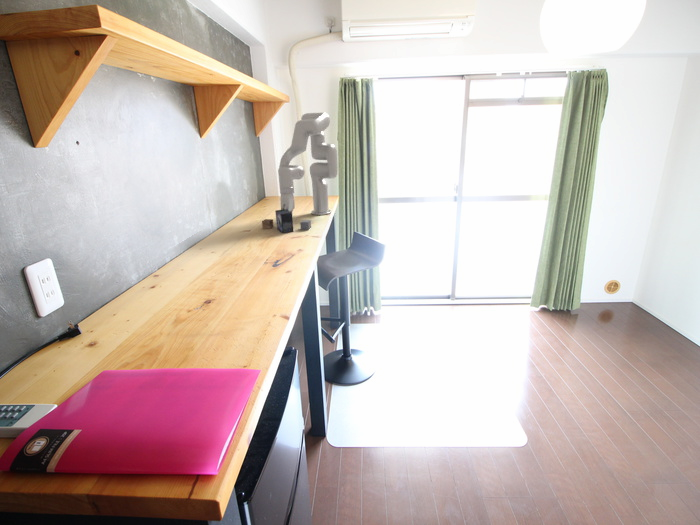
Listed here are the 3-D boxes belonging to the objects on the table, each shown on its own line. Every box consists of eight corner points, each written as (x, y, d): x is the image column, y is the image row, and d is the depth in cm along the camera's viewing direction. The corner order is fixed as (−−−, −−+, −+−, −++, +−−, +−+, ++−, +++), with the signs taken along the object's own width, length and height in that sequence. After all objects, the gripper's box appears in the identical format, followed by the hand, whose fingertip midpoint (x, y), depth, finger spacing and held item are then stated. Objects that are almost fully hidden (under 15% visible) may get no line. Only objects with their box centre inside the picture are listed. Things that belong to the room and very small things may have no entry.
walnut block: (266, 227, 208) (265, 219, 206) (273, 227, 207) (272, 219, 205) (262, 229, 203) (261, 221, 202) (270, 229, 203) (269, 221, 201)
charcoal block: (303, 227, 203) (302, 220, 202) (311, 228, 203) (310, 220, 201) (300, 230, 199) (300, 222, 198) (308, 230, 198) (308, 222, 197)
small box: (276, 229, 202) (274, 210, 199) (287, 227, 205) (286, 208, 201) (282, 233, 193) (280, 213, 190) (294, 231, 196) (292, 212, 193)
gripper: (285, 188, 208) (288, 220, 215) (275, 192, 195) (278, 226, 201) (297, 188, 207) (300, 220, 213) (288, 192, 193) (291, 226, 199)
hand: (289, 223), depth 207 cm, fingers closed
